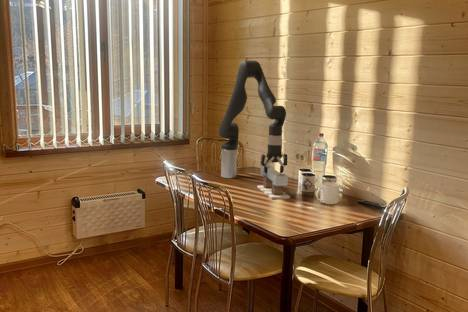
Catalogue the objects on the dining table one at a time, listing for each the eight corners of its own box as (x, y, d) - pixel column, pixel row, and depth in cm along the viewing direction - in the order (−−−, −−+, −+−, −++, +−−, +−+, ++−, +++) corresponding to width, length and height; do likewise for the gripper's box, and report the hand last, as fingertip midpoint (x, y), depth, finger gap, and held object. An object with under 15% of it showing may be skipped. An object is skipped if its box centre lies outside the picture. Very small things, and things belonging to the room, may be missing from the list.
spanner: (260, 174, 257) (260, 165, 256) (271, 174, 258) (271, 165, 258) (275, 185, 232) (276, 176, 231) (287, 185, 234) (288, 175, 233)
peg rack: (256, 186, 257) (257, 174, 256) (273, 186, 260) (274, 174, 259) (271, 199, 233) (272, 186, 231) (290, 198, 235) (290, 185, 234)
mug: (333, 199, 236) (335, 181, 234) (341, 204, 227) (342, 186, 226) (311, 199, 234) (312, 182, 232) (318, 205, 225) (319, 186, 223)
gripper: (285, 142, 247) (283, 171, 250) (260, 142, 243) (258, 172, 246) (290, 144, 240) (288, 174, 243) (264, 144, 236) (263, 175, 239)
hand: (273, 173), depth 244 cm, fingers open, 8 cm apart
